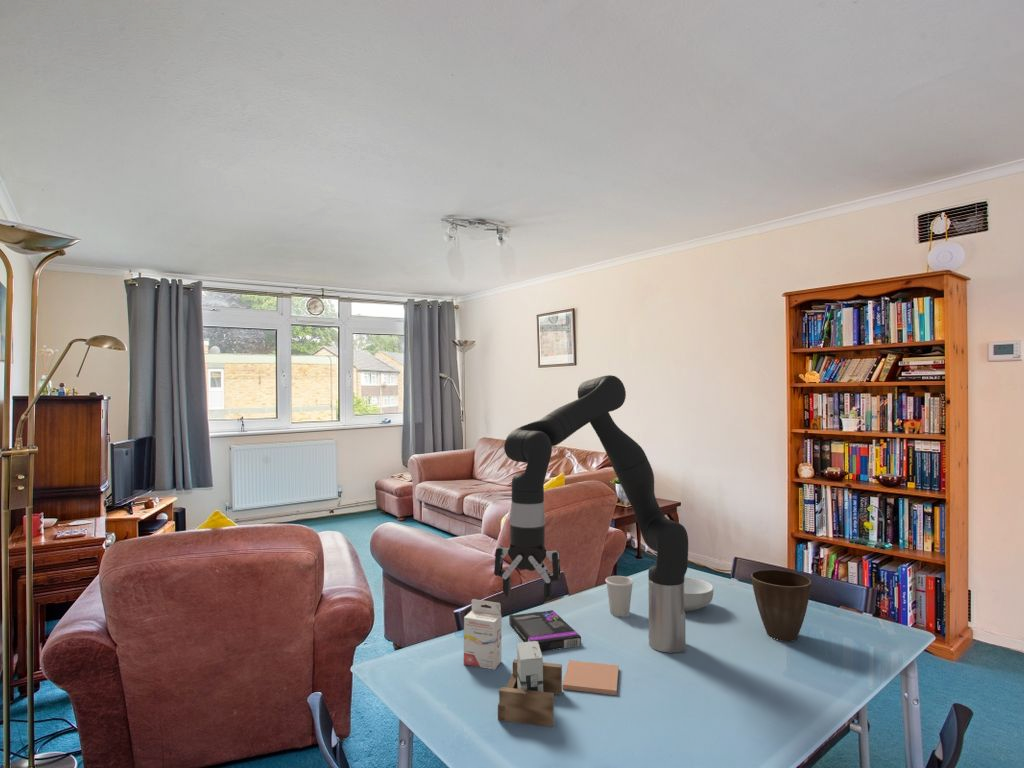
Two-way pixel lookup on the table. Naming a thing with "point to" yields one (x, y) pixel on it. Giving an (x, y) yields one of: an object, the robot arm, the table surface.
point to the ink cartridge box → (483, 635)
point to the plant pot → (781, 601)
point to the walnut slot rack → (531, 698)
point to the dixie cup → (619, 595)
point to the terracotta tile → (591, 677)
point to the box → (544, 630)
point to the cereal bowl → (696, 593)
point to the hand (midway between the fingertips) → (527, 597)
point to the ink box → (529, 666)
